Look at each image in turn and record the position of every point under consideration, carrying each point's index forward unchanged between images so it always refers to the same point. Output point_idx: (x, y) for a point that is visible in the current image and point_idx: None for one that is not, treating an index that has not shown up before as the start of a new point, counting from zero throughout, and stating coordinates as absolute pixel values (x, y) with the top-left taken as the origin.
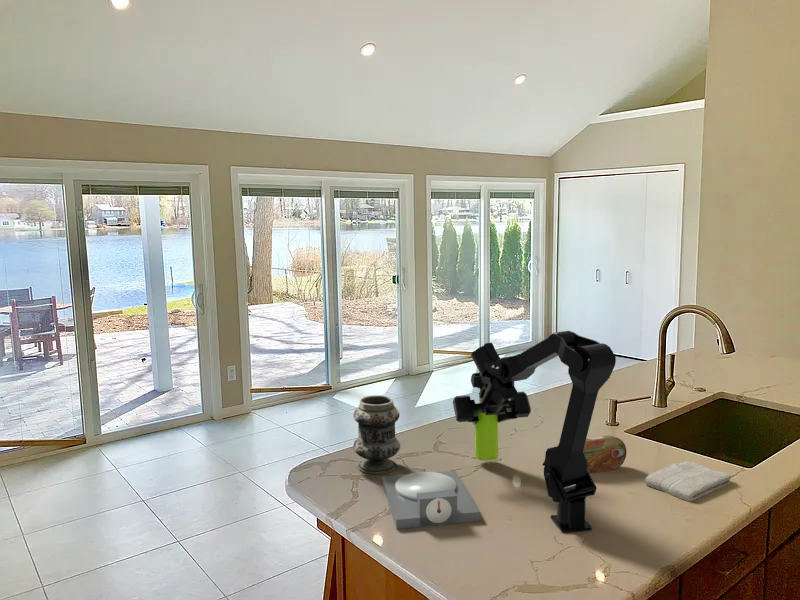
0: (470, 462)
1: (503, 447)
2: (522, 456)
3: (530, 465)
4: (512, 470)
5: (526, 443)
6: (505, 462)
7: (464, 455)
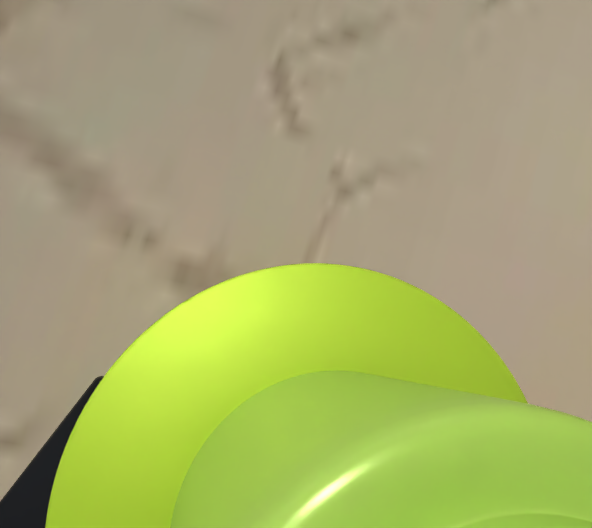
0: None
1: (402, 164)
2: None
3: None
4: None
5: (535, 144)
6: None
7: (132, 223)
